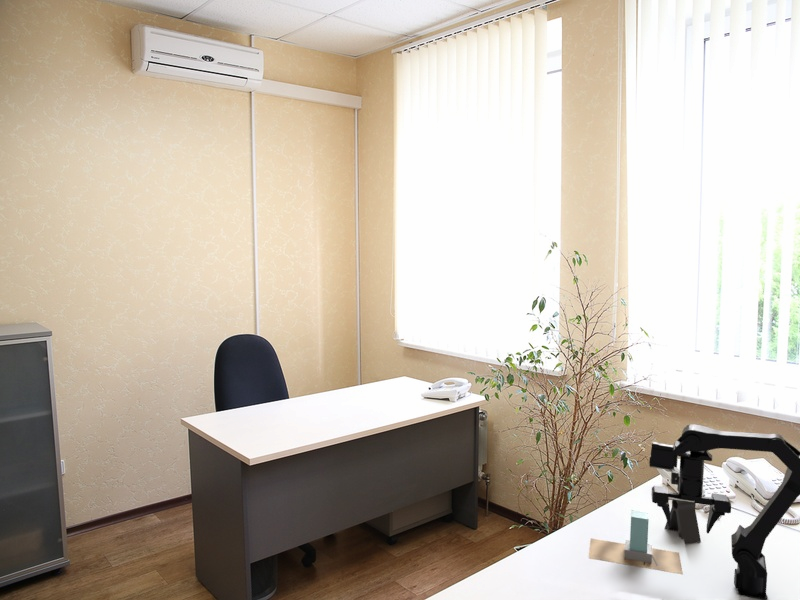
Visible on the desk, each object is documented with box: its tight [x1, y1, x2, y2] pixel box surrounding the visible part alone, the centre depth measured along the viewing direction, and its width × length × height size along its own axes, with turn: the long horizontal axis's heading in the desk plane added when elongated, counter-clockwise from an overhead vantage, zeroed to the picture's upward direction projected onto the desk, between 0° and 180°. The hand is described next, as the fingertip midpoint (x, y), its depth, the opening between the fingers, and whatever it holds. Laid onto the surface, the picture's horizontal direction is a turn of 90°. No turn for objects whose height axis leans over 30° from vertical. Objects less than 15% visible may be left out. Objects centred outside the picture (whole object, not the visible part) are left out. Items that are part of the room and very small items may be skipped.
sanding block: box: [624, 509, 653, 563], centre depth 172 cm, size 7×6×12 cm
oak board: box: [588, 538, 684, 575], centre depth 173 cm, size 24×12×2 cm, turn 70°
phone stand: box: [664, 500, 702, 545], centre depth 187 cm, size 9×6×12 cm, turn 13°
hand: (688, 529), depth 164 cm, fingers open, 9 cm apart
